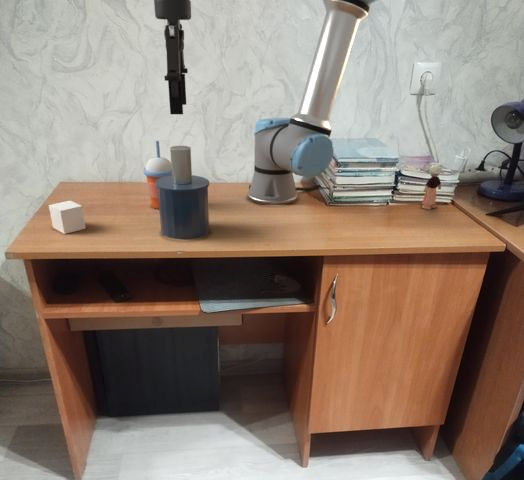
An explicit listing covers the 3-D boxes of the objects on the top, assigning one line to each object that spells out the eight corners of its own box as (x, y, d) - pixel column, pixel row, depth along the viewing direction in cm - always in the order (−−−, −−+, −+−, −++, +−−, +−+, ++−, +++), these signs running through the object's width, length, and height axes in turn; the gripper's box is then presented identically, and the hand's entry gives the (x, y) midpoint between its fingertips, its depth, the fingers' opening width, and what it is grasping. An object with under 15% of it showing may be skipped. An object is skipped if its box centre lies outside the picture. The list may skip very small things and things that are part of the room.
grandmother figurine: (427, 203, 161) (436, 161, 154) (439, 206, 159) (448, 163, 152) (415, 209, 156) (424, 165, 149) (427, 212, 154) (436, 168, 147)
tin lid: (209, 179, 134) (208, 142, 129) (209, 194, 123) (207, 154, 118) (158, 179, 133) (155, 141, 128) (152, 194, 122) (149, 153, 117)
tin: (209, 224, 141) (207, 177, 134) (208, 241, 130) (207, 191, 123) (163, 224, 140) (160, 177, 133) (159, 241, 129) (155, 191, 123)
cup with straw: (171, 212, 148) (167, 145, 138) (141, 209, 149) (135, 143, 140) (182, 202, 155) (178, 139, 146) (153, 200, 157) (148, 136, 147)
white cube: (74, 222, 139) (70, 200, 136) (85, 228, 136) (82, 205, 132) (52, 227, 135) (48, 205, 132) (64, 234, 132) (60, 210, 129)
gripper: (159, -3, 117) (166, 100, 129) (146, -5, 96) (156, 118, 108) (193, -2, 118) (197, 101, 129) (187, -4, 97) (193, 119, 109)
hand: (178, 109), depth 119 cm, fingers open, 13 cm apart
